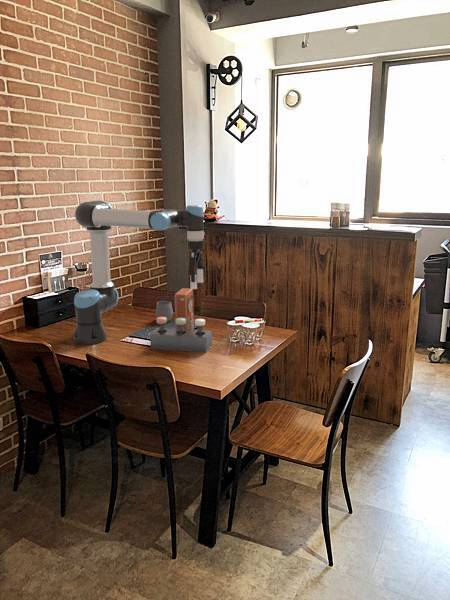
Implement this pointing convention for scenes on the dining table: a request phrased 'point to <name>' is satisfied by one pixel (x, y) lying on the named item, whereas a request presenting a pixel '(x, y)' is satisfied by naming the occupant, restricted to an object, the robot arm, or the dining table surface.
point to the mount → (181, 340)
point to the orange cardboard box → (185, 307)
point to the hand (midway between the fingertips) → (197, 285)
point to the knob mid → (180, 325)
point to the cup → (164, 310)
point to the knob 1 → (161, 323)
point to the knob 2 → (200, 325)
